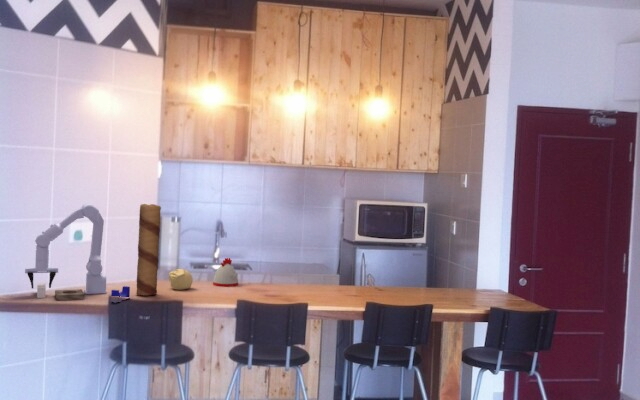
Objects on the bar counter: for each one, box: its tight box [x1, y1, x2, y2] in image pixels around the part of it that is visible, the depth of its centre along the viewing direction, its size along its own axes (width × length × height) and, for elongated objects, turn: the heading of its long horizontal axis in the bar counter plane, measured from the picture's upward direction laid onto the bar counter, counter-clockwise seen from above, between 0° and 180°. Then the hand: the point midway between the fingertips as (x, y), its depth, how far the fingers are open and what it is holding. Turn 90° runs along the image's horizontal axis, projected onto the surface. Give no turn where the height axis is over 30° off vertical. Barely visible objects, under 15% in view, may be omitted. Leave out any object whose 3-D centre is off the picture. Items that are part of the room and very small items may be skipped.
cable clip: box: [110, 285, 131, 297], centre depth 305 cm, size 12×4×6 cm, turn 169°
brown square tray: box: [54, 288, 86, 302], centre depth 307 cm, size 12×13×2 cm
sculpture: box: [168, 268, 194, 291], centre depth 341 cm, size 12×12×11 cm
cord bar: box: [36, 282, 46, 299], centre depth 309 cm, size 4×14×5 cm, turn 24°
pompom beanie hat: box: [212, 257, 239, 288], centre depth 360 cm, size 14×14×15 cm
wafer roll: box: [136, 203, 162, 297], centre depth 321 cm, size 10×11×45 cm
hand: (41, 287), depth 309 cm, fingers open, 7 cm apart
